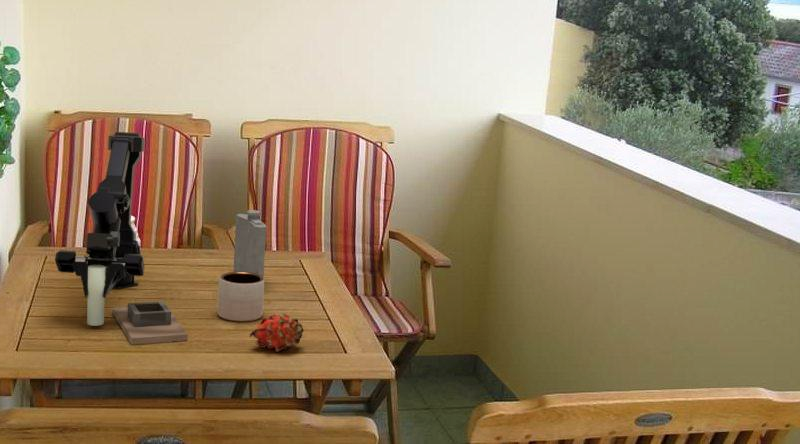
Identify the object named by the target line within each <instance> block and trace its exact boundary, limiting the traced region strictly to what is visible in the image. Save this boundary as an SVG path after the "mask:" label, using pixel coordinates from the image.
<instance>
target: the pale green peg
mask: <svg viewBox="0 0 800 444" xmlns="http://www.w3.org/2000/svg"><path fill="white" fill-rule="evenodd" d="M105 274H106V267H105V266H103V265H90V266H88V295H87V304H86V305H87V310H86V311H87V313H86V317H87V319H86V325H89V326H95V327H97V326H102V325H104V324H105V298H103V292H104V287H105Z"/></svg>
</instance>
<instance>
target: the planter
mask: <svg viewBox="0 0 800 444" xmlns="http://www.w3.org/2000/svg"><path fill="white" fill-rule="evenodd" d="M265 279H266V278H265V277H263V276H261V275H259V274H256V273H251V272H233V271H230V272H224V273H222V274H220V275H219V279H218V280H219V281H218V294H217V297H218V298H217V311H216V312H217V315H218V316H219V317H220V318H221V319H223V320H227V321H230V322H234V323H235V322H236V323H237V322H238V323H247V322H248V323H250V322H254V321H257V320H259V319H261V317H263V314H264V301H265V300H264V298H265V296H264V295H265Z"/></svg>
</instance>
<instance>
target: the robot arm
mask: <svg viewBox="0 0 800 444" xmlns="http://www.w3.org/2000/svg"><path fill="white" fill-rule="evenodd" d="M107 145H108V146H107V150H109V151H110V155H109V160H108V163H107V170H106V174H105V179H102V180H101V181H100V182H99V183H98V185H97V188H96V191H95V192H94V193H93V194H92V195H90V197H89V198H88V206H89V211H90V215H91V216H90V217H91V220H92V222H93V228H92V232H87V233H86V242H85V248H86V250H85V252H86V255H88V256H86V255H77V252H76V250H64V249H63V250H61V249H60V250H58V251H57V252H56V253H55V257H54V258H55V259H54V261H55V265H56V268H57V271H58V272H60V273H71V274H73V273H75V276H77V277H80V279H81V282H82V288H83V294H84V297H85V298H88V266H90V265H103V266H105V287H104V292H103V298H107V296H108V295H109V293H110V292H111V291H112V290H113V288H115V289H123V288H127V287H133V286H138V284H139V282H137V281H135V277H142V276H144V273H145V263H144V262H145V261H144V256H143V255H142V254H141V253H142V252H141V245H140V246H139V245H138V241H136V234H135V232H134V230H133V228H132V226H131V216H132V209H133V207H132V206H133V191H134V178H135V168H136V166H137V165H138V163H140V161H141V160H142V153H143V152H144V151H145V146H146V140H145V137H142V136H141V133H140V132H126V131H115V132H114V134H113V135H108V140H107Z"/></svg>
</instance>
